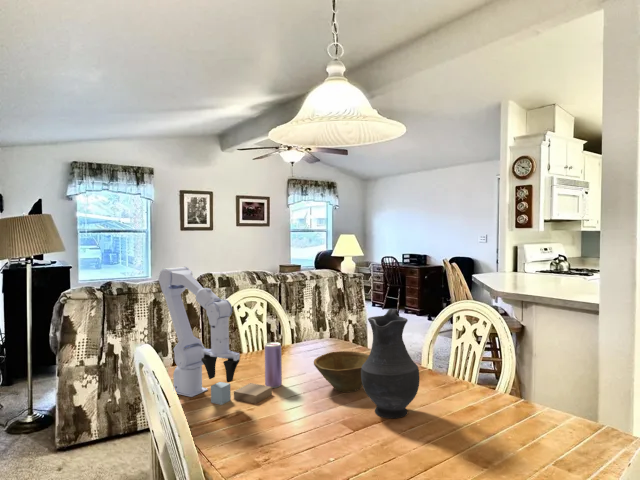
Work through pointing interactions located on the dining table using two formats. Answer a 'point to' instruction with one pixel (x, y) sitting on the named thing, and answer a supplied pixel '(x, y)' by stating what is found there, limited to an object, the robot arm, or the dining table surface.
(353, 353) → the bowl
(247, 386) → the tan block
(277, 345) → the beverage can
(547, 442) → the dining table surface
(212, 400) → the pale grey-blue block
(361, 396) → the dining table surface
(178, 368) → the robot arm
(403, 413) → the pitcher
